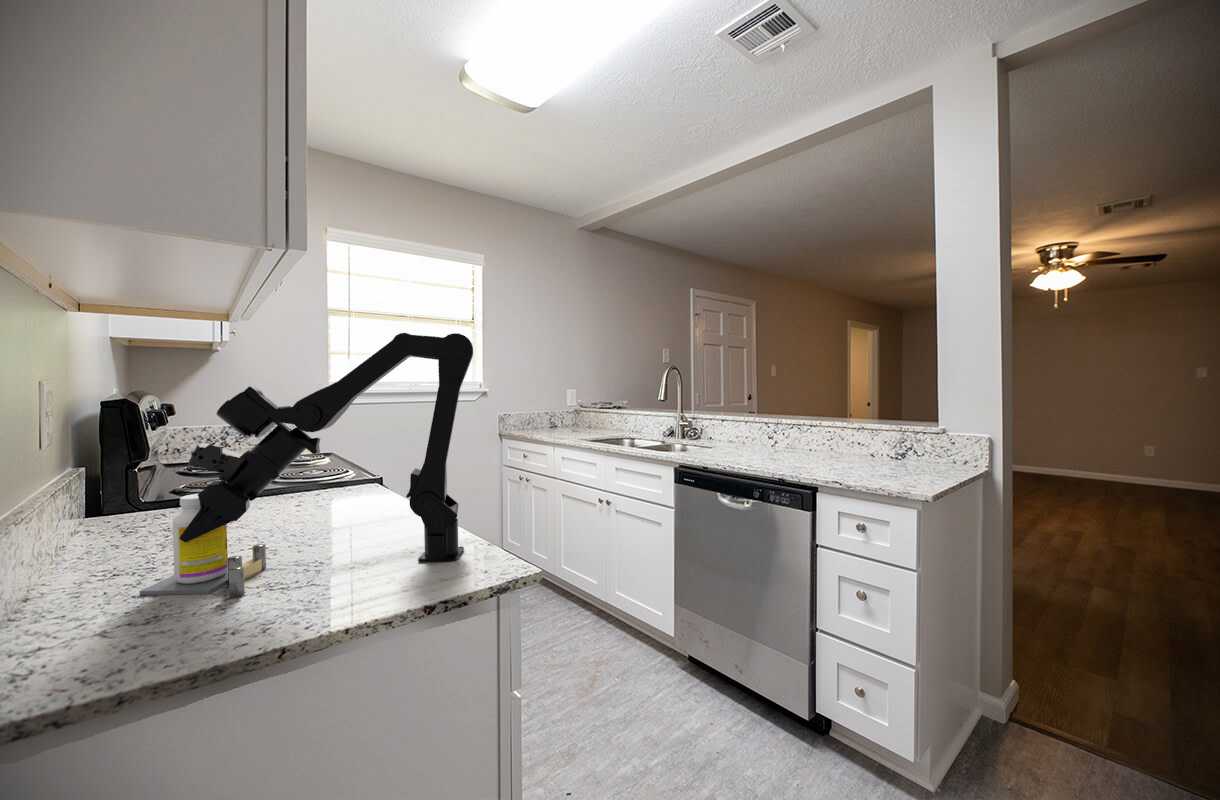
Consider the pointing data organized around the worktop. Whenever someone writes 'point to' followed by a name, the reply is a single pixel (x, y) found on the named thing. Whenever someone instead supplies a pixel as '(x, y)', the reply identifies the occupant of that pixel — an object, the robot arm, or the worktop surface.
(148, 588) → the slate coaster
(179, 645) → the worktop surface
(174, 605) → the worktop surface
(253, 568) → the bent rail
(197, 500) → the supplement bottle
